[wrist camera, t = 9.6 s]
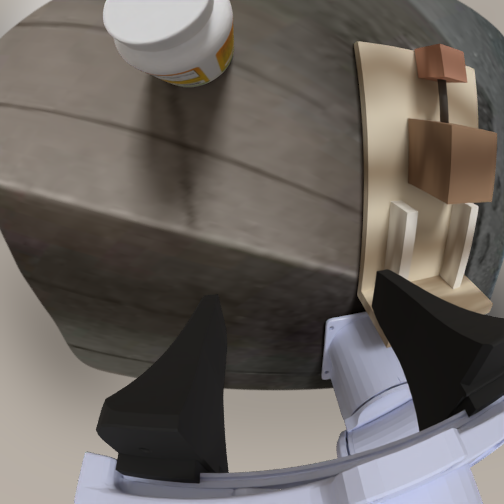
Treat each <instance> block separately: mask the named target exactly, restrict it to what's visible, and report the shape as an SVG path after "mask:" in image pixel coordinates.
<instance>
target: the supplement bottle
mask: <svg viewBox="0 0 504 504" xmlns="http://www.w3.org/2000/svg"><path fill="white" fill-rule="evenodd" d="M103 21H104V25H105V27H106V29H107V31H108V33H109V34H110V35H111V36H112V37H113V38H114V42H115V46H116V48H117V50H118V52H119V54H120V55H121V57H122V58H123V59H124V60H125V61H126V62H127V63H128V64H130V65H131V66H133V67H135V68H136V69H138V70H140V71H143V72H145V73H148V74H150V75H152V76H155V77H157V78H159V79H161V80H163V81H166V82H168V83H170V84H173V85H177V86H181V87H196V86H200V85H204V84H207V83H209V82H211V81H213V80H214V79H216V78H217V77H219V76H220V75H221V74H222V73H223V72H224V71H225V70H226V68H227V67H228V65H229V64H230V62H231V59H232V56H233V52H234V36H233V13H232V8H231V4H230V1H229V0H106V2H105V5H104V10H103Z"/></svg>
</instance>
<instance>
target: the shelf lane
mask: <svg viewBox="0 0 504 504" xmlns="http://www.w3.org/2000/svg"><path fill="white" fill-rule="evenodd" d="M354 50H355V57H356V64H357V72H358V80H359V89H360V100H361V112H362V128H363V151H364V208H363V232H362V248H361V261H360V273H359V283H358V292H357V296H358V298H359V300H360V301H361V303H362V305H363V306H364V308H365V310H366V312H367V313H368V315H369V317H370V319H371V321H372V322H373V324H374V326H375V328H376V330H377V331H378V333H379V335H380V337H381V339H382V341H383V343H384V344H385V346H386V348H389V347H391V345H390V343H389V342H388V340H387V338H386V336H385V335H384V333H383V331H382V329H381V327H380V326H379V324H378V321H377V319H376V317H375V314H374V311H373V309H372V300H373V293H374V287H375V280H376V272H377V271H380V270H386V269H389V270H391V271H393V272H395V273H397V274H398V275H400V276H402V277H404V278H405V279H407V280H409V281H410V282H412V283H414V284H415V285H417V286H419V287H421V288H422V289H424V290H426V291H428V292H429V293H431V294H433V295H435V296H437V297H439V298H441V299H443V300H445V301H447V302H450V303H452V304H454V305H457V306H459V307H462V308H464V309H467V310H470V311H473V312H476V313H480V314H483V315H484V314H486V313H489V312H490V309H491V307H492V305H493V303H492V302H491V301H490V300H489V299H488V298H487V297H486V296H485V295H484V294H483V293H482V292H481V291H480V290H479V289H478V288H477V287H476V286H475V285H474V284H473V283H472V282H471V281H470V280H469V279H468V278H467V277H466V276H465V275H464V272H465V268H466V264H467V261H468V257H469V253H470V248H471V244H472V239H473V235H474V230H475V224H476V219H477V213H478V206H477V205H475V204H473V203H461V204H446V203H444V202H442V201H441V200H439V199H437V198H435V197H434V196H432V195H430V194H428V193H426V192H424V191H423V190H421V189H419V188H417V187H415V186H413V185H411V184H409V183H408V165H409V132H408V118H411V119H422V120H431V121H439V122H440V106H439V91H438V82H435V81H431V80H426V79H421V78H418V71H417V64H416V57H415V51H412V50H407V49H403V48H398V47H392V46H387V45H380V44H374V43H366V42H356V43H354ZM465 67H466V74H467V83H446V84H447V96H448V113H449V123H453V124H458V125H463V126H468V127H473V128H477V129H478V106H477V91H476V81H475V72H474V69H473V68H470V67H468V66H465Z"/></svg>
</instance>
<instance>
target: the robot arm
mask: <svg viewBox="0 0 504 504" xmlns="http://www.w3.org/2000/svg"><path fill="white" fill-rule="evenodd" d="M372 309H373V311H374V314H375V317H376V319H377V321H378V324H379V326H380V327H381V329H382V331H383V333H384V335H385V336H386V338H387V340H388V342H389V343H390V345H391V347H389V348H386V346H385V344H384V343H383V341H382V339H381V337H380V335H379V333H378V331H377V330H376V328H375V326H374V324H373V322H372V321H371V319H370V317H369V315H368V313H367V312H361V313H356V314H351V315H346V316H341V317H336V318H331V319H328V320H327V321H326V326H325V340H324V353H323V364H322V374H321V377H322V379H323V380H326V379H331V381H332V384H333V388H334V391H335V394H336V398H337V401H338V404H339V407H340V411H341V414H342V417H343V419H344V422H345V425H346V429H347V430H345V431H343V432H341V434H340V436H339V439H338V442H337V457H338V458H337V459H333V460H329V461H324V462H319V463H314V464H309V465H303V466H297V467H291V468H283V469H275V470H266V471H256V472H239V473H229V472H228V463H227V454H226V443H225V428H224V407H223V389H224V377H225V365H226V353H227V337H226V326H225V322H224V318H223V314H222V310H221V305H220V301H219V297H218V294H215V295H206V296H204V297H203V298H202V299H201V301H200V303H199V305H198V306H197V308H196V310H195V311H194V313H193V315H192V316H191V318H190V319H189V321H188V323H187V324H186V326H185V327H184V329H183V330H182V331H181V333H180V334H179V335H178V337H177V338H176V340H175V341H174V342H173V343H172V345H171V346H170V347H169V348H168V349H167V351H166V352H165V353H164V354H163V355H162V356H161V357H160V358H159V359H158V360H157V361H156V362H155V363H154V364H153V365H152V366H151V367H150V368H149V369H148V370H147V371H145V372H144V373H143V374H142V375H141V376H139V377H138V378H137V379H135V380H134V381H133V382H131V383H130V384H129V385H127V386H126V387H124V388H123V389H121V390H120V391H118V392H117V393H115V394H113V395H112V396H110V397H108V398H107V399H105V402H104V404H103V407H102V410H101V413H100V417H99V421H98V424H97V428H96V431H97V433H98V435H99V436H100V437H101V438H102V439H103V440H104V441H105V442H106V443H107V444H108V445H110V446H111V447H112V448H113V449H115V450H116V451H117V452H118V453H119V454H118V459H115V458H112V457H108V456H105V455H100V454H95V453H91V452H85V455H84V459H83V463H82V467H81V472H80V476H79V480H78V485H77V489H76V495H75V500H74V503H75V504H483V502H482V499H481V496H480V493H479V490H478V488H477V485H476V482H475V479H474V477H473V474H472V472H471V469H470V467H472V466H473V465H475V464H476V463H478V462H479V461H481V460H482V459H484V458H485V457H486V456H488V455H489V454H491V453H492V452H493V451H495V450H496V449H497V448H499V447H500V446H501V445H502V444H503V443H504V318H497V317H492V316H488V315H483V314H480V313H476V312H473V311H470V310H467V309H464V308H462V307H459V306H457V305H454V304H452V303H450V302H447V301H445V300H443V299H441V298H439V297H437V296H435V295H433V294H431V293H429V292H428V291H426V290H424V289H422V288H421V287H419V286H417V285H415V284H414V283H412V282H410V281H409V280H407V279H405V278H404V277H402V276H400V275H398V274H397V273H395V272H393V271H391V270H389V269H386V270H380V271H377V272H376V280H375V287H374V293H373V300H372ZM331 326H332V327H331ZM330 327H331V328H330ZM278 489H281V490H278Z"/></svg>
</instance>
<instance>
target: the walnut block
mask: <svg viewBox="0 0 504 504" xmlns="http://www.w3.org/2000/svg"><path fill="white" fill-rule="evenodd" d="M414 50H415V57H416V64H417V71H418V78H421V79H426V80H431V81H435V82H438V91H439V106H440V122H439V121H431V120H422V119H411V118H408V132H409V165H408V183H409V184H411V185H413V186H415V187H417V188H419V189H421V190H423V191H424V192H426V193H428V194H430V195H432V196H434V197H435V198H437V199H439V200H441V201H442V202H444V203H446V204H461V203H476V202H492V195H493V188H494V179H495V168H496V152H497V133H494V132H490V131H486V130H482V129H477V128H473V127H468V126H463V125H458V124H453V123H449V113H448V96H447V84H446V83H467V74H466V67H465V60H464V53H463V52H462V51H459V50H456V49H454V48H451V47H448V46H445V45H442V44H436V45H431V46H426V47H422V48H417V49H414Z"/></svg>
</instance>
